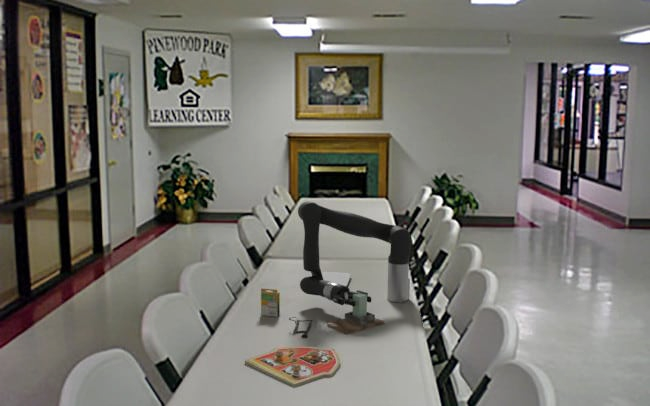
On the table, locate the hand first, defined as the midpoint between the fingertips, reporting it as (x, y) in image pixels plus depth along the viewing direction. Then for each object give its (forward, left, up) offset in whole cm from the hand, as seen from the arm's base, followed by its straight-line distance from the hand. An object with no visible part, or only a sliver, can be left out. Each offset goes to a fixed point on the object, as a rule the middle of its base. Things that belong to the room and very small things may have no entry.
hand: (362, 301), depth 264 cm
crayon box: (+22, -33, -10) cm, 41 cm away
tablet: (-31, -56, -10) cm, 64 cm away
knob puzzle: (+43, +16, -10) cm, 47 cm away
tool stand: (+2, -2, -9) cm, 10 cm away
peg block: (0, -2, -8) cm, 9 cm away
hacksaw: (+22, -14, -10) cm, 28 cm away
